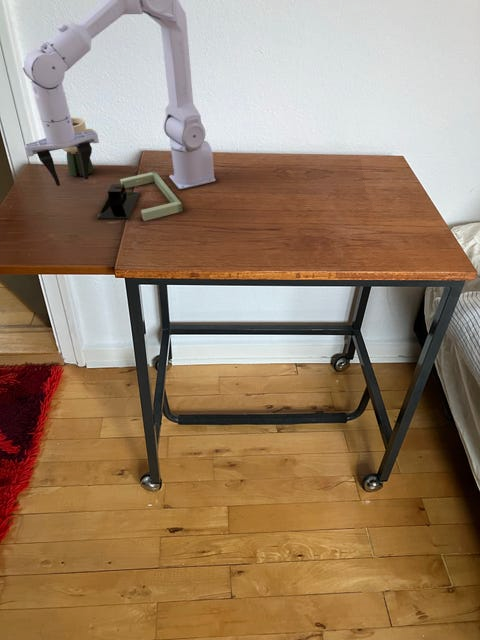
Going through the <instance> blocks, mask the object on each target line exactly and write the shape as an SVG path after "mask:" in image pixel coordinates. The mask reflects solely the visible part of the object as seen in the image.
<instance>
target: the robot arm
mask: <svg viewBox="0 0 480 640" xmlns="http://www.w3.org/2000/svg"><path fill="white" fill-rule="evenodd" d="M143 14H145V15H148V17H150V19H152V20H153V21H154V22H155V23H157V24H158V25H159V27H160V32H161V42H162V51H163V59H164V69H165V77H166V78H165V79H166V86H167V87H166V88H167V95H168V104H167V106H166V107H165V118H164V121H163V132H164V134H165V136H167V137H168V138H169V143H170V152H171V159H172V161H171V162H172V168H173V174H170V175H169V179H170V180H171V181H172V182H173V184H174V185H175V186H176V187H177V188H178V189H179V190H185V189H189V188H193V187H197V186H201V185H206V184H209V183H214V182H216V177H215V167H214V166H215V165H214V155H213V150H212V147H211V145H210V143H209V141H207V140H205V139H206V129H205V126H204V124H203V123H202V118H201V116H202V115H201V114H200V112H199V111H198V109H197V107H196V106H195V103H194V96H193V84H192V83H193V82H192V73H191V59H190V48H189V47H190V46H189V35H188V22H187V15H186V12H185V10H184V8H183V6H182V4H181V2H180V1H179V0H101V1H100V2H99V3H98V4H97V5H95V7H94V8H92V10H91V11H90V12H89V13H88V14H87V15H86V16H85V17H84V18H83V19H81V21H80V22H79V23H75V22H67V24H65V23H61V24H59V25H58V26H57V29H58V31H57V32H56V33H55V34H54V35H52V37H50V38H49V39H48V40H47V41H46V42H44V41H41V42H40V43H39V44H38V47H39V48H40V49H36V50H35V49H33V50H31V51H29V52H28V53H27V54H26V55H25V57H24V60H23V68H22V71H23V72H24V74H25V76H26V77H27V78H28V79H29V80H31V87H32V90H33V94H34V99H35V103H36V107H37V110H38V111H37V112H38V114H39V117H40V121H41V125H42V129H43V132H44V135H45V136H44V137H45V138H41V139H38V140H35V141H33V142H29V143H25V144H24V148H25V153H26V154H27V157H33V156H34V155H37V157H38V159H39V161H40V162H41V163H42V164H43V166H45V168H46V169H47V170H48V172H49V173H50V175H51V176H52V179H53V181H54V182H55V185H56V186H57V187H59V186H61V183H60V179H59V176H58V174H57V171H56V167H55V164H54V160H53V159H54V158H53V157H52V154H51V152H54V151H58V150H63V149H64V148H69V147H74V146H76V147H77V150H78V154H79V157H80V162H81V168H82V173H83V175H82V176H83V178H84V180H89V174H88V166H89V160H90V159H91V156H92V152H93V148H92V145H91V144H99V143H100V140H99V136H98V132H97V131H96V130H94V131H90V132H78V133H74V129H73V125H72V120H71V118H72V115H71V112H70V108H69V104H68V101H67V100H68V99H67V96H66V92H65V90H64V86H63V81H64V79H65V73H66V72H67V71H69V70H70V69H71V68H72V67H73V66H74V65H75V64H76V63H78V62H79V61H80V60H81V59H82V58H83V57H84V56H86V55H87V54H88V53H89V52H90V51H91V49H92V40H93V39H95V38H96V37H97V36H98V35H100V34H101V33H102V32H103V31H105V30H106V29H107V28H108V27H110V26H111V25H112V24H113V23H114V22H117V20H118V19H120V18H122V16H124V15H143Z"/></svg>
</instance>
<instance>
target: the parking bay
mask: <svg viewBox="0 0 480 640" xmlns="http://www.w3.org/2000/svg"><path fill="white" fill-rule="evenodd" d="M150 178H153V179H150ZM143 179H148V180H144V181H139V182H136V181H137V180H143ZM119 182H120V184H124V186H125V189H130V188H133V187H138V186H143V185H147V184H150V183H151V184H152V183H155V185H156V186H157V187H158V188H159V190H160V191H161V192H162V194H163V195H164V196H165V198H166V199H167V200H168V201H169V202H168V203H164V204H161V205H157V206H152V207H149V208H145V209H140V213H141V218H142V220H143V221H144V222H146V221H149V220H150V221H151V220H154V219H158V218H161V217H166V216H170V215H173V214H179V213H182V212H183V204H182V202H181V201H180V200H179V198H178V197H177V196H176V194H175V193H174V192H173V191H172V190H171V189H170V188H169V186H168V185H167V184H166V182H165V181H164V179H162V177H160V174H158V173H157V172H156V171H151V172H147V173H142V174H137V175H133V176H128V177H124V178H119Z"/></svg>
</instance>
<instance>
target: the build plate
mask: <svg viewBox="0 0 480 640" xmlns="http://www.w3.org/2000/svg"><path fill="white" fill-rule="evenodd" d="M107 195H108V197H107V199H106V200H105V201H106V202H105V203H104V205H103V207H102V209H101V210H100V212H99V214H98V215H97V217H96V218H97V220H107V221H108V220H110V221H111V220H119V221H121V220H122V221H123V220H126V221H127V220H129V219H130V217H131V215H132V212H133V210H134V208H135V206H136V204H137V202H138V200H139V197H140V195H141V192H140V191H139V192H138V191H137V192H136V191H135V192H134V191H133V192H132V191H129V192H127V188H125V186H124V184H121V183H120V184H119V183H115V184H114V183H113V184H111V185H110V187H109V188H108V190H107Z"/></svg>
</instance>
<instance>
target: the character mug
mask: <svg viewBox="0 0 480 640" xmlns="http://www.w3.org/2000/svg"><path fill="white" fill-rule="evenodd" d="M71 120H72V125H73V129H74V133H78V132H90V131H95V130H94V129H93V128H87V126H86V121H85V120H84V119H83V118H82V117H74V116H73V117H72V116H71ZM62 150H63V151H64V152H66V163H67V170H68V174H69V175H71V176H75V177H77V174H79V176H83V173H82V168H81V162H80V157H79V154H78V150H77V147H76V146H74V147H69V148H64V149H62ZM93 170H94V166H93V162H92V160H91V158H90V160H89V166H88V175H89V174H91V173H92V172H93Z"/></svg>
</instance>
